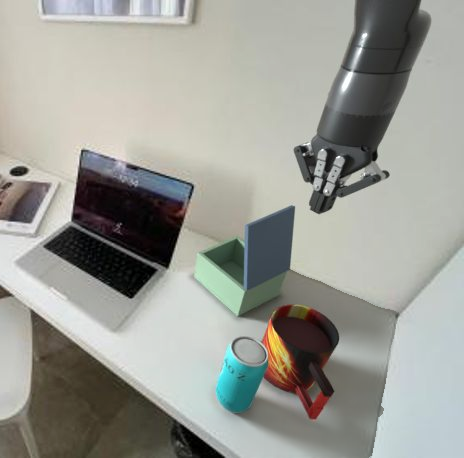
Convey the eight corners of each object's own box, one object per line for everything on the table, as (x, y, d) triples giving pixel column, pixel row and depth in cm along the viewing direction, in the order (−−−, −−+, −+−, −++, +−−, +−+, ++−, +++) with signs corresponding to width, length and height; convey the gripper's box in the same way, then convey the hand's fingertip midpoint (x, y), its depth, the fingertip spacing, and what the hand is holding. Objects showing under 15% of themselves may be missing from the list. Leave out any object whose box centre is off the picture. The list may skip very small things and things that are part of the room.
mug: (309, 425, 58) (335, 387, 51) (243, 357, 68) (257, 317, 61) (351, 398, 60) (382, 358, 53) (282, 337, 71) (299, 296, 64)
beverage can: (228, 378, 66) (244, 327, 56) (257, 403, 62) (279, 353, 52) (207, 396, 63) (220, 346, 54) (235, 423, 59) (254, 375, 50)
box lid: (244, 225, 65) (248, 226, 64) (291, 205, 68) (295, 206, 67) (243, 289, 71) (246, 291, 70) (286, 267, 74) (290, 269, 73)
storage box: (193, 276, 86) (197, 252, 81) (231, 259, 89) (237, 235, 84) (237, 316, 76) (244, 291, 71) (278, 295, 79) (287, 270, 74)
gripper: (439, 109, 43) (377, 224, 53) (331, 85, 53) (297, 185, 63) (398, 125, 41) (342, 241, 51) (294, 97, 51) (265, 199, 61)
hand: (318, 210), depth 57 cm, fingers closed
